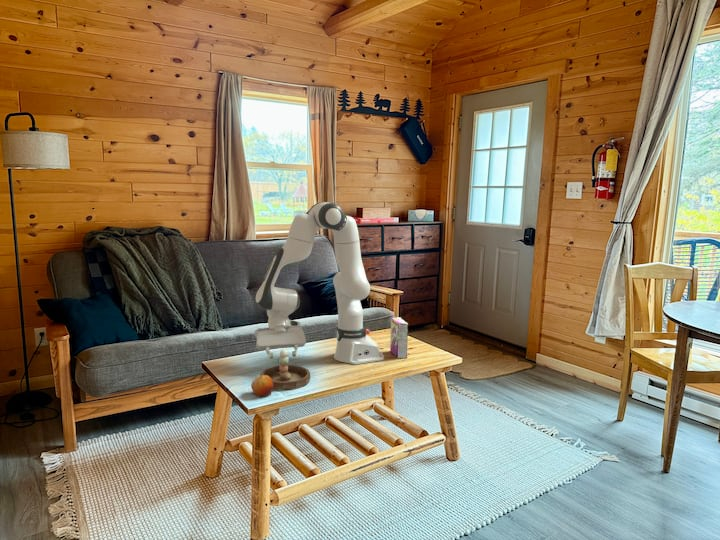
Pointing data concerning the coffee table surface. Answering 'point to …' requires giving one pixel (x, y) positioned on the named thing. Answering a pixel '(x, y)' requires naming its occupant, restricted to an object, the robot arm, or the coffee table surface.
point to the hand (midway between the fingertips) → (282, 356)
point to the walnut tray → (295, 377)
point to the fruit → (262, 386)
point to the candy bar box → (399, 337)
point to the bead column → (283, 362)
